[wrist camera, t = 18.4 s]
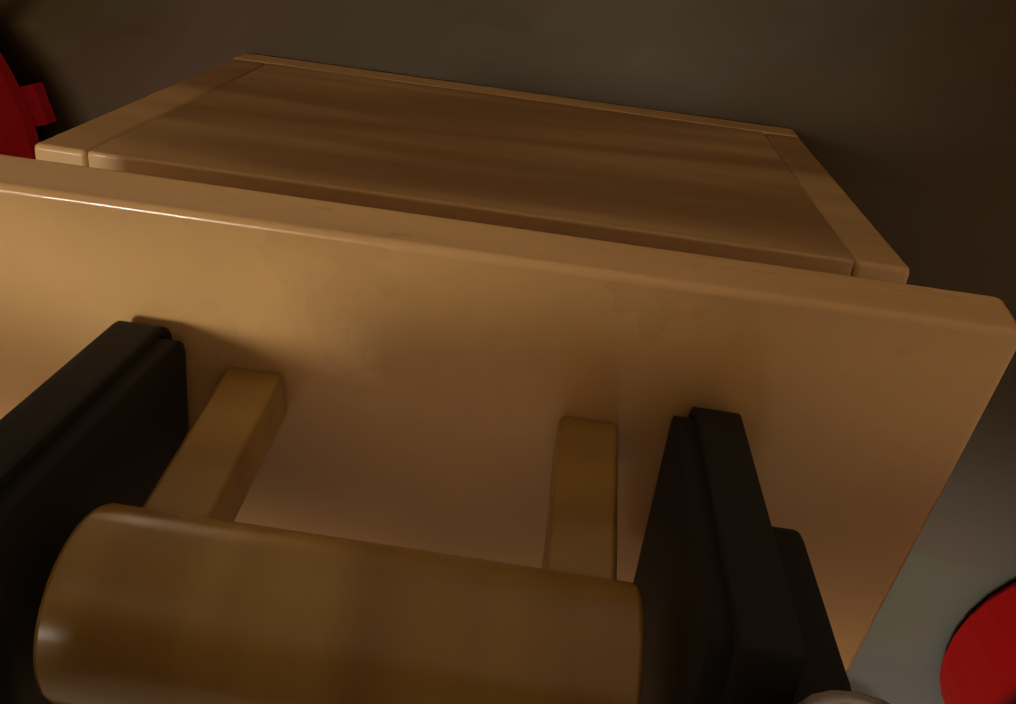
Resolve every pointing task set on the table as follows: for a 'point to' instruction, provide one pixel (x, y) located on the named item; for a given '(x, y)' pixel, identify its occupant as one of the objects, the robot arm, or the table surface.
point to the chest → (492, 161)
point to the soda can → (983, 654)
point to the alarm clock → (21, 114)
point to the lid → (450, 438)
